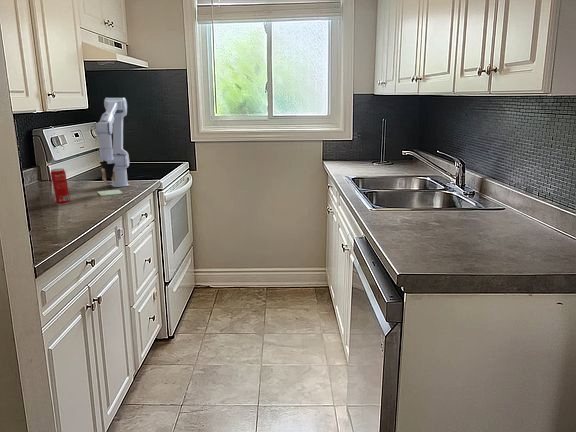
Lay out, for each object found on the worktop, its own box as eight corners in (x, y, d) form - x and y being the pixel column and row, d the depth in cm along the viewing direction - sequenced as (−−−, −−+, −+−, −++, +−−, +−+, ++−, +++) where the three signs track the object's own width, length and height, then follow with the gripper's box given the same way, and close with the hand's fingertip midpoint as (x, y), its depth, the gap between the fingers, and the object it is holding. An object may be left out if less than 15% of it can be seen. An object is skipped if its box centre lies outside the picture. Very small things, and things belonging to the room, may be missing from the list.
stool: (113, 178, 237) (112, 167, 236) (115, 180, 233) (114, 169, 232) (102, 179, 235) (101, 168, 234) (104, 181, 231) (103, 170, 229)
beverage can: (72, 202, 217) (69, 168, 213) (64, 205, 211) (60, 170, 207) (59, 201, 218) (55, 167, 214) (51, 205, 211) (47, 170, 208)
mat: (97, 192, 237) (97, 191, 237) (118, 190, 242) (118, 189, 242) (100, 196, 229) (100, 195, 229) (123, 193, 234) (122, 193, 234)
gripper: (94, 147, 235) (97, 175, 238) (99, 150, 222) (102, 180, 226) (110, 146, 238) (112, 174, 241) (115, 149, 226) (118, 178, 229)
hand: (108, 177), depth 234 cm, fingers closed on stool, 5 cm apart
